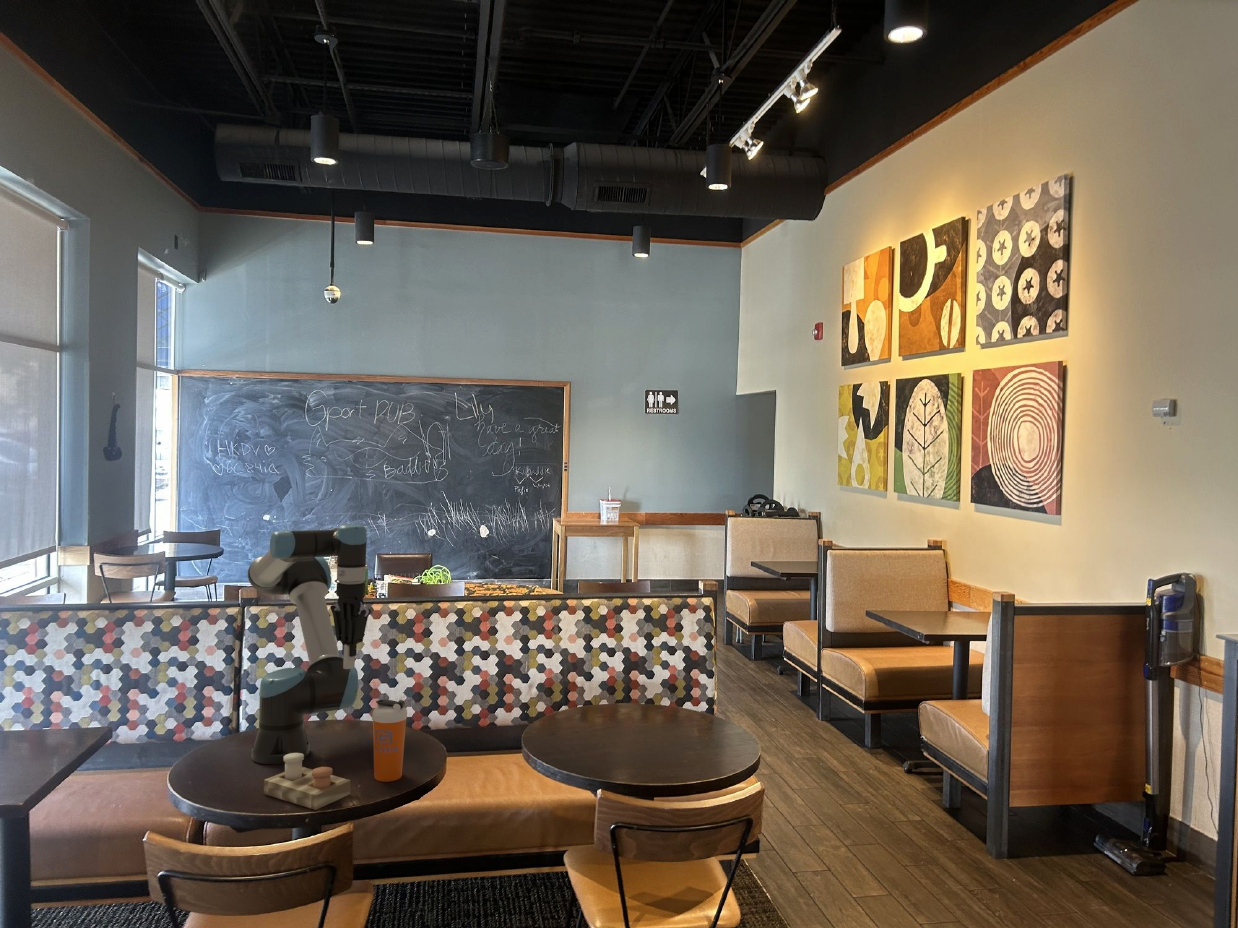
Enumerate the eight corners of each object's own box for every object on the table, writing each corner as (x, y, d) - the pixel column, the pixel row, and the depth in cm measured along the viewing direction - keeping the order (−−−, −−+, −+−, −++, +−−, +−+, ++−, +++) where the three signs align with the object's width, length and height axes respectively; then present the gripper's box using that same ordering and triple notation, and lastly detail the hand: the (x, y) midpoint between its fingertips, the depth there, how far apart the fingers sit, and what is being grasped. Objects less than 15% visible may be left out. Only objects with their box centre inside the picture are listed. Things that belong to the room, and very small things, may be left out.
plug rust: (306, 798, 208) (307, 771, 208) (322, 792, 212) (322, 765, 212) (320, 803, 206) (321, 775, 206) (335, 796, 210) (336, 769, 210)
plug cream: (278, 784, 213) (279, 757, 212) (294, 777, 217) (294, 751, 217) (292, 788, 210) (292, 760, 210) (307, 781, 215) (308, 755, 214)
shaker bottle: (374, 770, 228) (376, 696, 228) (408, 770, 229) (410, 696, 228) (367, 783, 219) (369, 706, 219) (402, 783, 220) (404, 706, 220)
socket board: (263, 793, 211) (264, 779, 210) (299, 779, 220) (299, 765, 220) (315, 809, 202) (316, 795, 202) (350, 793, 212) (350, 780, 212)
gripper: (323, 581, 231) (321, 667, 232) (358, 585, 225) (356, 674, 225) (344, 577, 238) (341, 661, 238) (378, 582, 232) (376, 668, 232)
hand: (348, 667), depth 232 cm, fingers closed
